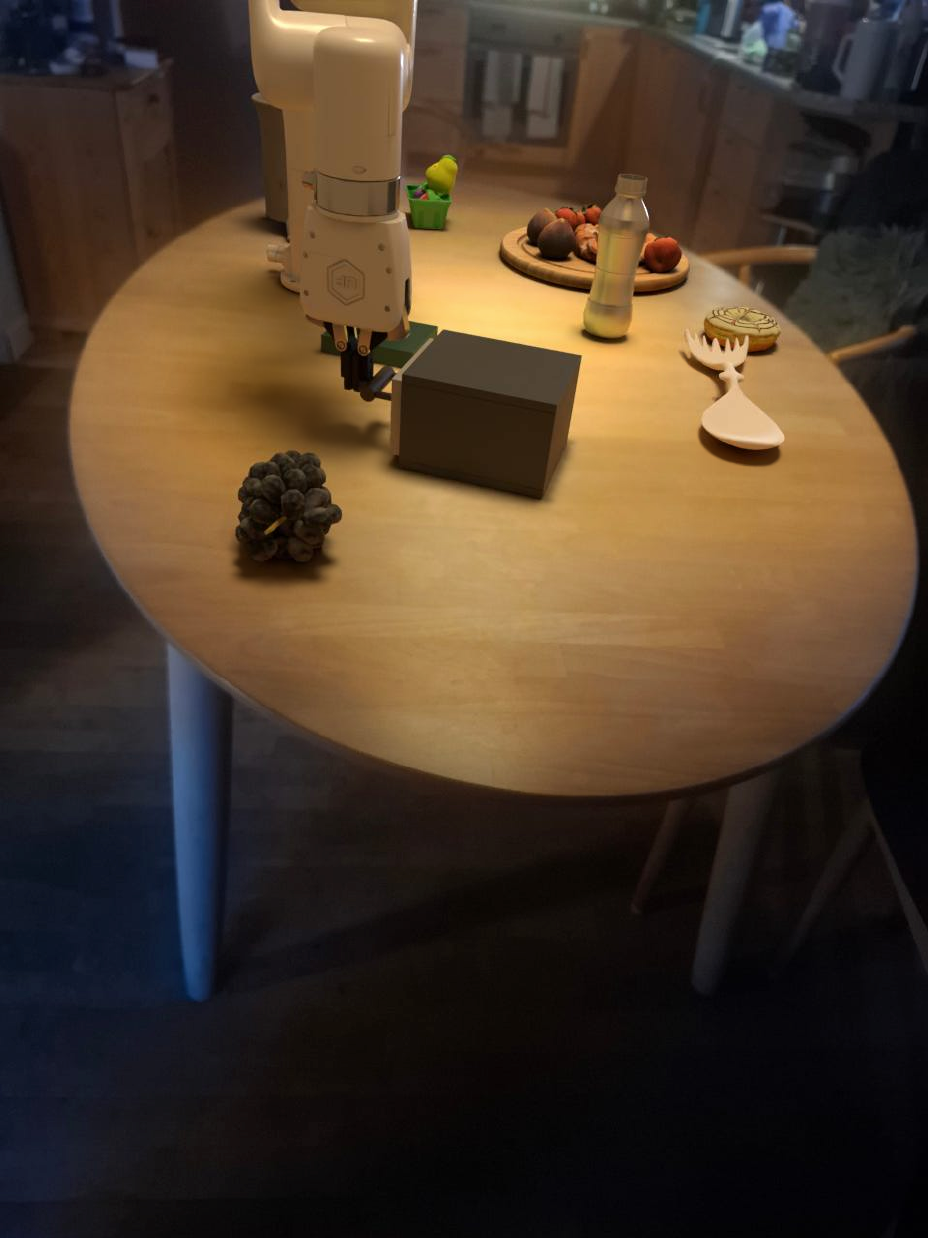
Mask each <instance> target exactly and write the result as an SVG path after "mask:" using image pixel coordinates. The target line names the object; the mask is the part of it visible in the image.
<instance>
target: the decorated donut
mask: <svg viewBox="0 0 928 1238" xmlns="http://www.w3.org/2000/svg"><path fill="white" fill-rule="evenodd" d="M703 329H704V333H705V334H706V336H707V338H708V339H709V340H710V341H711V342H713V340H714V339H715V338H716V339H717V340H718V342H719V345H720V347H723V348H725V344H726V339H727V338H728V339H729V343H730V348H731V351H733V350H734V344H735V339H736V337H737V339H738V341H739V345H740V347H741V346H743V343H744V339H745V336H746V335H748V337H749V347H748V351H747V353H752V352H760V351H765V350H767V349H769V348H771V347H772V346H773V345H774V344H775V343H776V341H777V340H778V338H780V335H781V334H782V329H781V326H780V323H779V322H778V321H777V320H776V319H775V318H774V317H773V316H771V315H770V314H767V313H764V312H762V311H761V310H758V309H754V308H753V307H748V306H721V307H718V308H714V309H711V310H709V311H708V312H707V313H706V314H705V318H704V320H703Z"/></svg>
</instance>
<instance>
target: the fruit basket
mask: <svg viewBox="0 0 928 1238" xmlns="http://www.w3.org/2000/svg"><path fill="white" fill-rule="evenodd" d="M456 161H457V159H456V158H455V157H453V156H452V155H451V154H445V155H443V156H442V157H440V160H439V161H438V162H436V163H434V164H432V165H431V166H429V167H428V168H427V169H426V171H425V174H424V175H425V176H426V180H427V181H426V182H424V181H422V182H421V184H405V190H406V195H407V199H408V204H409V210H410V215H411V220H412V224H413V228H414V229H424V230H443V229H444V226H445V223H446V218H447V215H448V212H449V209H450V207H451V204H452V201H453V200H452V198H451V195H450V193H452V191H453V190H454V188H455V185H456V178H457V174H458V171H459V170H458V169H459V168H458V164H457V163H456Z"/></svg>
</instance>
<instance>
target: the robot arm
mask: <svg viewBox="0 0 928 1238" xmlns="http://www.w3.org/2000/svg"><path fill="white" fill-rule="evenodd" d="M247 2H248V18H249V19H248V21H249V37H250V39H249V40H250V54H251V55H250V56H251V63H252V65H251V66H252V72H253V77H254V80H255V81H254V82H255V84H256V87H257V89H258V93H261V95H262V97H263V98H264V99H265V100H266V101H267V102H268V103H269V104H271V105H272V106H274V107H276V108H279V109H282V111H283V119H284V130H285V144H286V163H287V187H288V210H289V234H290V242H289V245H287V247H286V246H282V245H279V244H274V243H269V244H268V245H267V247H266V258H267V261H268V262H270V263H276V264H277V263H278V264H281V265H282V266H283V270H281V272H280V283H281V285H282V286H284V287H285V288H286V289H288V290H290V291H292V292H295V293H298V294H299V303H300V307H301V310H302V312H303V313H304V315H305V316H304V317H305V320H306V321H308V322H310V323H311V324H314V325H316V326H318V327H320V328H324V329H325V331H327V332H328V333H329V334H330V336H331V337H332V338H333V339H334V341H335V345H336V348H337V349H338V350H339V351H341V356H340V377H341V378H343V389H344V390H345V391H352V390H353V392H355V393H360V390H361V389H362V388H363V387H364V386H365V385H366V384H367V383H368V382H369V381H370V379H371V378H372V377H373V376H374V366H375V365H374V364H375V363H374V349H375V348H376V347H377V346H378V345H379V344H381V343H382V342H383V341H399V340H404V339H405V338H407V337H408V336H409V335H410V327H409V322H408V321H409V316H410V314H411V311H412V310H411V309H412V301H413V299H412V298H413V276H412V275H413V272H412V271H413V270H412V253H411V244H410V235H409V229H408V222H407V217H406V213H404V212H403V211H400V203H401V201H400V198H401V197H400V196H401V171H402V169H401V168H402V167H401V166H402V138H403V137H402V136H403V135H402V134H403V112H404V111H405V110H406V109H407V107H408V105H409V103H410V100H411V96H412V89H413V80H414V79H413V78H414V63H415V45H416V32H417V16H418V2H419V1H418V0H290V2H291V3H292V5H293V6H294V7H295V8H297V9H298V10H283V9H281V7H280V0H248V1H247ZM356 328H360V335H359V341H358V340H357V331H356Z"/></svg>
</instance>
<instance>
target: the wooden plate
mask: <svg viewBox="0 0 928 1238" xmlns="http://www.w3.org/2000/svg"><path fill="white" fill-rule="evenodd" d="M601 213H602V209H601V208H600V207H599V206H597V204H593V203H588V204H585V205H583V206H582V207H581V210H579V209H577V208H574V207H573V206H572V207H571V206H570V207H568V206H563V205H562V206H561V207H560V208H559V209H557V210H555V211H551V210H550V209H549V208H548V207H545V208H543V209H541V210H539V211H538V212H536V213H535V214H534V215H533V216H532V217H531V219H530V220H529V221H528V224H527V226H524V227H520V228H516V229H514V230H512V231H510V232H508V233H506V235H504V237H502V239H501V241H500V244H499V251H500V255H501V257H502V258H503V259H504V261H505V262H506V263H508V264H509V265H510V266H511V267H513V268H515V269H517V270H519V271H520V272H522V273H525V274H527V275H530V276H531V277H535V278H537V279H540V280H542V281H547V282H550V283H553V284H557V285H562V286H566V287H572V288H577V289H585V290H591V287H592V282H593V278H594V274H595V267H596V264H597V262H596V258H597V249H598V222H599V217H600V215H601ZM682 251H683V250H682V249H681V247H680V245H679V241H678V240H677V239H674V238H672V237H670V236H665V237H663V236H656V235H655V234H653V233H648V234H647V237H646V240H645V243H644V246H643V249H642V252H641V255H640V259H639V263H638V267H637V269H636V270H637V272H636V276H635V282H634V291H633V293H638V292H641V293H642V292H653V291H659V290H665V289H667V288H671V287H674V286H677V285H678V284H680V283H681V282H683V281H684V280H685V279H686V278H687V277H688V275H689V273H690V269H691V268H690V267H691V265H690V261H689V259H688V258H687V256H686V255H685V254H684V253H683V252H682Z"/></svg>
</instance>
